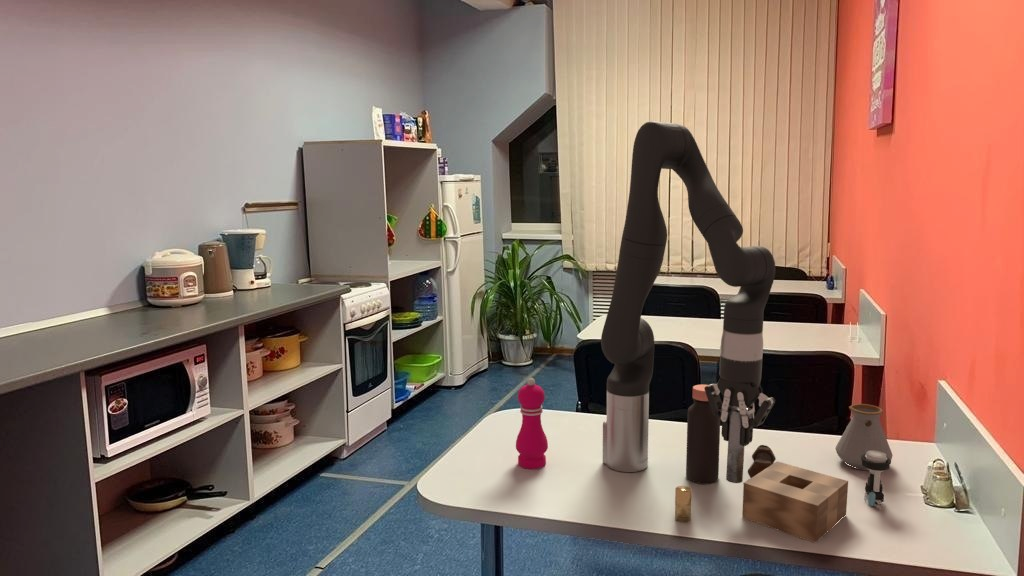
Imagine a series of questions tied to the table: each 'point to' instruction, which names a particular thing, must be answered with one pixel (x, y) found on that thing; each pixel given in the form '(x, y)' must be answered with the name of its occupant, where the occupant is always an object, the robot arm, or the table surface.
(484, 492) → the table surface
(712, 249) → the robot arm
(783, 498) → the hole block
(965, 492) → the table surface
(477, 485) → the table surface
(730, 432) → the long pin
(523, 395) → the pepper mill
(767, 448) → the bolt
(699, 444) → the bottle
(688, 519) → the short pin
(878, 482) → the push button
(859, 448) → the coffee pot
